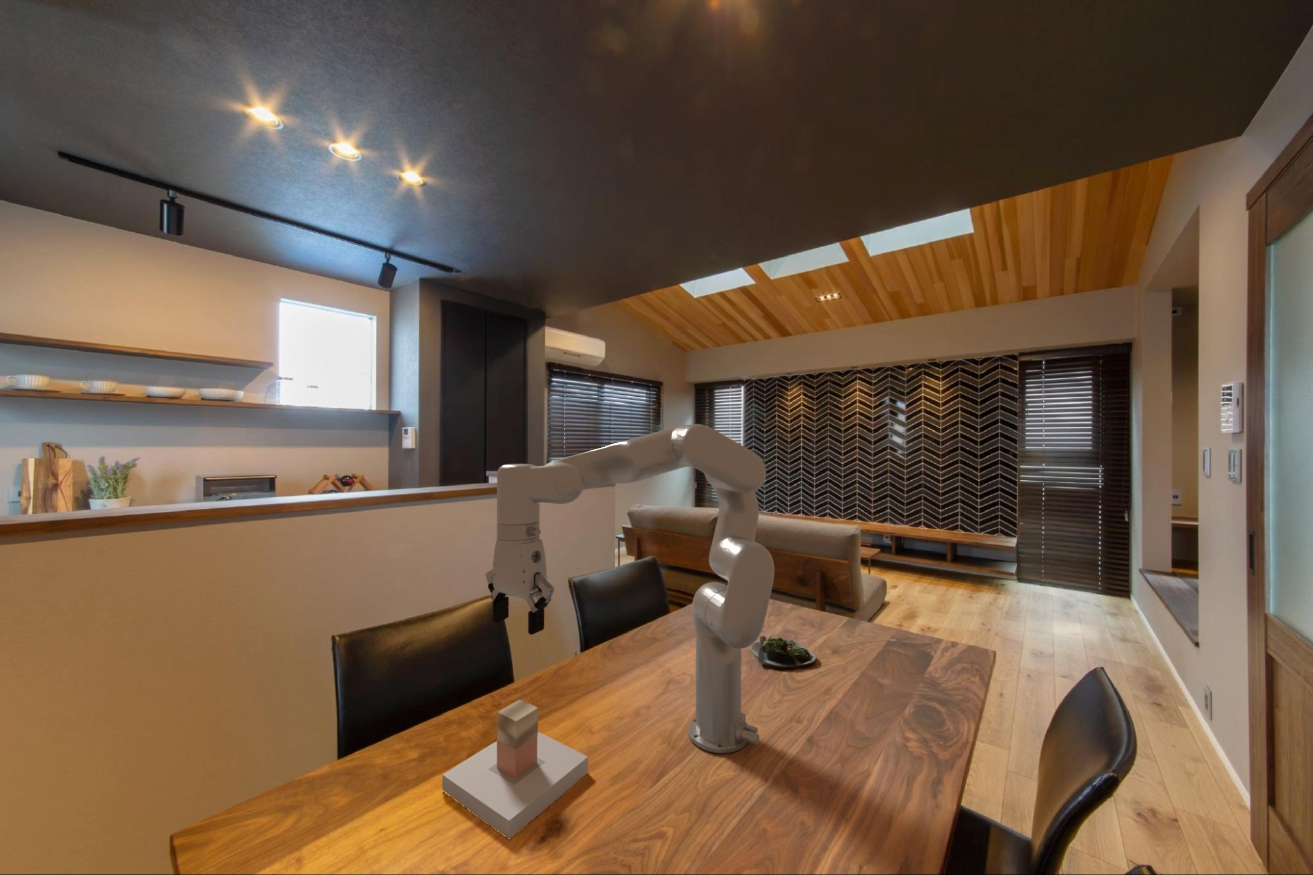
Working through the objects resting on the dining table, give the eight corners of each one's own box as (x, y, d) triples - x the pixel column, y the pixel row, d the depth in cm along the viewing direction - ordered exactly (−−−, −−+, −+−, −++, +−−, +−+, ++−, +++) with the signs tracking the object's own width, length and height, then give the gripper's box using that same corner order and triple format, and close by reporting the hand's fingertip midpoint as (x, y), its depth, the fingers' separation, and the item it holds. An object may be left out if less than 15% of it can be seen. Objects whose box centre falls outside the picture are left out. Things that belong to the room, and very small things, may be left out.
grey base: (587, 772, 88) (587, 756, 88) (509, 839, 73) (509, 820, 73) (523, 738, 98) (523, 723, 98) (442, 791, 83) (442, 774, 83)
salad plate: (737, 644, 145) (737, 629, 145) (790, 639, 149) (790, 624, 149) (764, 674, 126) (764, 657, 126) (824, 668, 130) (824, 651, 130)
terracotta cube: (537, 762, 86) (537, 734, 87) (515, 778, 82) (515, 749, 82) (518, 752, 89) (519, 725, 89) (496, 767, 85) (497, 739, 85)
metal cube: (537, 734, 87) (537, 707, 87) (515, 749, 82) (516, 721, 82) (519, 725, 89) (519, 699, 89) (497, 739, 85) (497, 711, 85)
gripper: (567, 533, 84) (566, 629, 84) (504, 524, 94) (504, 610, 94) (534, 541, 78) (534, 644, 78) (471, 529, 88) (470, 622, 88)
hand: (517, 625), depth 86 cm, fingers open, 9 cm apart
